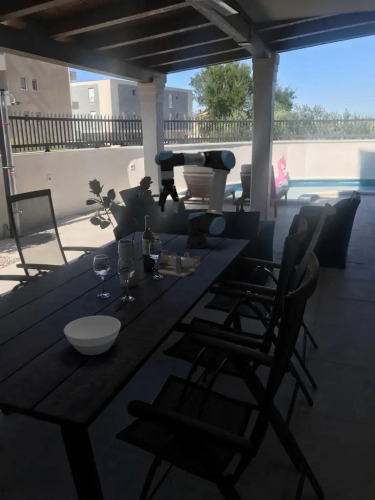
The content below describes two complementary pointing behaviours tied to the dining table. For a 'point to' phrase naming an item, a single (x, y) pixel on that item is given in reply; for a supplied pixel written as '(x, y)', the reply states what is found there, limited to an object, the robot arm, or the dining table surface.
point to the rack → (197, 260)
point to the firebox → (174, 270)
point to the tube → (171, 261)
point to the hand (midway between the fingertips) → (169, 215)
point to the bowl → (92, 334)
